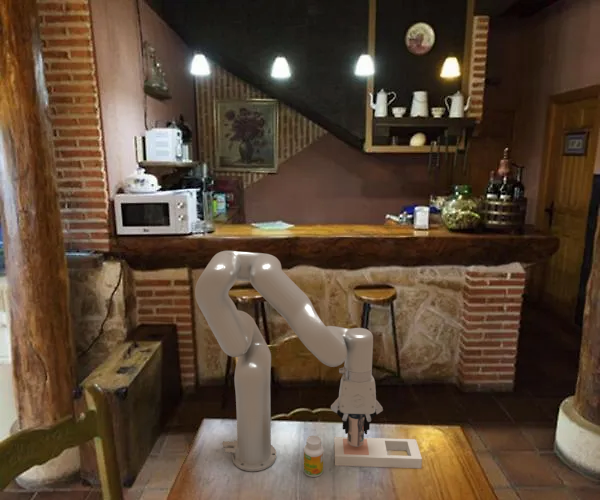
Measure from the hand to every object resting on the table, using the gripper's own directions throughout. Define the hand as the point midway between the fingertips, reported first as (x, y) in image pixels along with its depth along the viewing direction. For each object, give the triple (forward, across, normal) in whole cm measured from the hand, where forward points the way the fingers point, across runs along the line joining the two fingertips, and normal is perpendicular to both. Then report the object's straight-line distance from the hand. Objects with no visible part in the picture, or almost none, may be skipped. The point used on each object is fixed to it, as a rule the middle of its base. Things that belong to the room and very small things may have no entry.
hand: (355, 430), depth 138 cm
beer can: (+4, 0, 0) cm, 4 cm away
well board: (+8, +6, 0) cm, 10 cm away
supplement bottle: (+8, -12, -7) cm, 16 cm away
